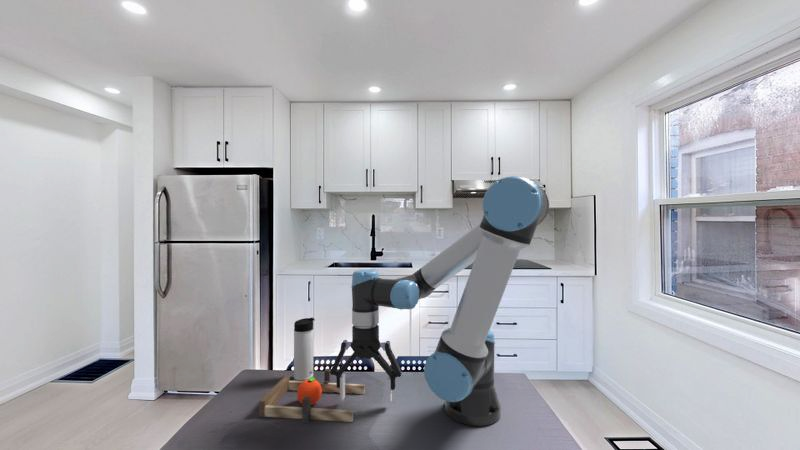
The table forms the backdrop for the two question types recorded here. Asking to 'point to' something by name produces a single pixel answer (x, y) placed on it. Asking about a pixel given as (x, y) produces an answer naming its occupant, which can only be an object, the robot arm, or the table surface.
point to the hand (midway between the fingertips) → (366, 399)
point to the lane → (306, 401)
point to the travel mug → (303, 349)
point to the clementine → (309, 390)
